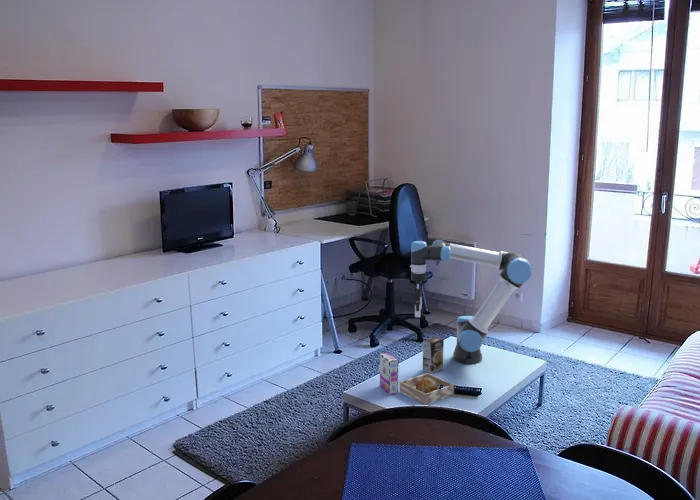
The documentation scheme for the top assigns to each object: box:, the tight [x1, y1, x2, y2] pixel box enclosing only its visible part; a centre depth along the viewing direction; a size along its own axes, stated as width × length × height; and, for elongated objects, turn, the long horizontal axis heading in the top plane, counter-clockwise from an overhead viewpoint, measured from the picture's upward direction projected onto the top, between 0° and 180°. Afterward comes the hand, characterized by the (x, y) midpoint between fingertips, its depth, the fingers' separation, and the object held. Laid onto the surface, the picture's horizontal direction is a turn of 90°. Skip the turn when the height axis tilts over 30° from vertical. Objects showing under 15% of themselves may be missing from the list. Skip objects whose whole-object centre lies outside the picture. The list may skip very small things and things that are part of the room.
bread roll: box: [416, 378, 438, 394], centre depth 285 cm, size 10×10×8 cm
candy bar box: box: [379, 352, 399, 396], centre depth 289 cm, size 11×5×16 cm, turn 21°
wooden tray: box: [399, 372, 455, 406], centre depth 285 cm, size 18×18×5 cm
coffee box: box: [422, 336, 445, 375], centre depth 312 cm, size 9×6×16 cm
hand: (418, 313), depth 312 cm, fingers open, 13 cm apart
